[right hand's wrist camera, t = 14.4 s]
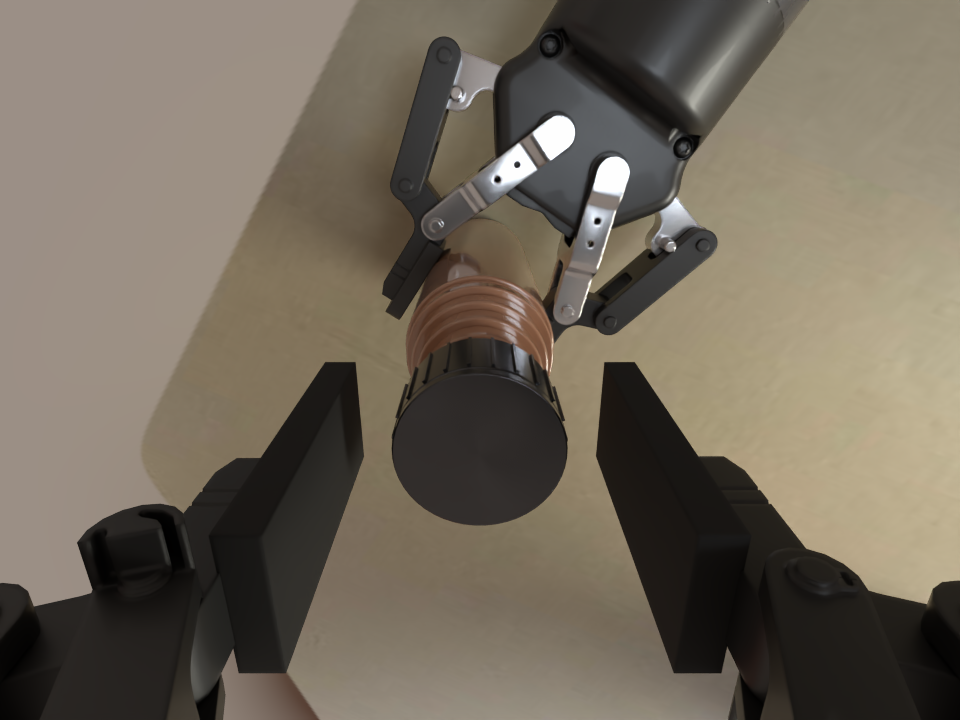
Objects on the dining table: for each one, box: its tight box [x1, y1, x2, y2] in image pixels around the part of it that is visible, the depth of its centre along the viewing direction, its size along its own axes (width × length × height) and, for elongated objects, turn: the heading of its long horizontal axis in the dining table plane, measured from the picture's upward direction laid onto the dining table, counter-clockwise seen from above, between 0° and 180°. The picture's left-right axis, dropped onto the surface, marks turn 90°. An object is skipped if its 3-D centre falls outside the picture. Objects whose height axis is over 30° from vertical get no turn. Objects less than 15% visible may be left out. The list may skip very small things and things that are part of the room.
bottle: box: [406, 219, 554, 377], centre depth 22 cm, size 5×5×19 cm
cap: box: [392, 337, 568, 525], centre depth 14 cm, size 4×4×2 cm
